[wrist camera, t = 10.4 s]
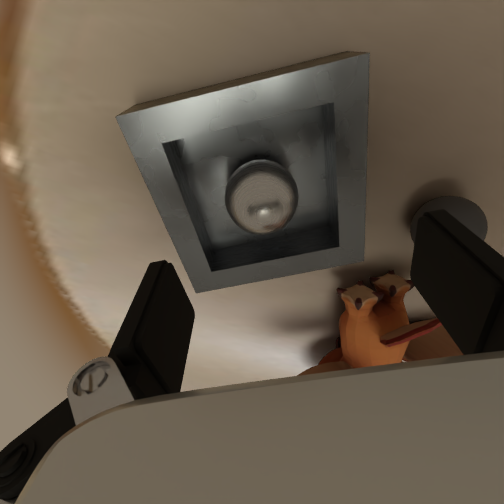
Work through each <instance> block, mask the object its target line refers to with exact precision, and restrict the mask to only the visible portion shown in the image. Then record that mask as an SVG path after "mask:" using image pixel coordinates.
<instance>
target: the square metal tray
mask: <svg viewBox="0 0 504 504" xmlns="http://www.w3.org/2000/svg"><path fill="white" fill-rule="evenodd" d="M369 58H370V53H366V52H349V51H346V52H342V53H338V54H334V55H330V56H326V57H322V58H318V59H314V60H310V61H306V62H302V63H298V64H295V65H291V66H287V67H283V68H279V69H275V70H271V71H267V72H263V73H259V74H255V75H251V76H247V77H243V78H239V79H235V80H231V81H227V82H224V83H220V84H216V85H212V86H208V87H204V88H200V89H196V90H192V91H188V92H184V93H180V94H176V95H172V96H168V97H164V98H160V99H157V100H153V101H149V102H145V103H141V104H137V105H134V106H132V107H131V108H129V109H127V110H126V111H124V112H122V113H121V114H119V115H117V116H116V119H117V121H118V124H119V126H120V128H121V130H122V132H123V135H124V137H125V139H126V141H127V143H128V145H129V148H130V150H131V152H132V154H133V156H134V159H135V161H136V163H137V165H138V167H139V170H140V172H141V174H142V176H143V178H144V180H145V183H146V185H147V187H148V189H149V191H150V194H151V196H152V198H153V200H154V202H155V205H156V207H157V209H158V211H159V213H160V215H161V218H162V220H163V222H164V224H165V226H166V229H167V231H168V233H169V235H170V237H171V239H172V242H173V244H174V246H175V248H176V250H177V253H178V255H179V257H180V259H181V261H182V264H183V266H184V268H185V270H186V272H187V274H188V277H189V279H190V281H191V283H192V285H193V288H194V290H195V292H196V293H200V292H206V291H211V290H216V289H221V288H226V287H232V286H237V285H242V284H247V283H253V282H258V281H263V280H268V279H273V278H279V277H284V276H289V275H294V274H300V273H305V272H310V271H315V270H321V269H326V268H331V267H336V266H341V265H347V264H352V263H357V262H362V261H364V248H365V210H366V172H367V134H368V96H369ZM259 159H264V160H271V161H274V162H277V163H279V164H280V165H282V166H283V167H285V168H286V169H287V170H288V171H289V172H290V173H291V175H292V176H293V178H294V180H295V182H296V184H297V188H298V193H299V200H298V206H297V209H296V212H295V214H294V216H293V218H292V219H291V221H290V222H289V223H288V224H287V225H286V226H285V227H283V228H282V229H280V230H279V231H277V232H274V233H271V234H266V235H257V234H252V233H249V232H246V231H244V230H243V229H241V228H240V227H238V226H237V225H236V224H235V223H234V222H233V220H232V219H231V218H230V216H229V214H228V212H227V209H226V206H225V189H226V185H227V183H228V180H229V179H230V177H231V175H232V174H233V173H234V172H235V171H236V170H237V169H238V168H239V167H240V166H242V165H243V164H245V163H247V162H250V161H253V160H259Z"/></svg>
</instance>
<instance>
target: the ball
mask: <svg viewBox="0 0 504 504" xmlns="http://www.w3.org/2000/svg"><path fill="white" fill-rule="evenodd" d="M439 209H444V210H446V211H447V212H448V213H450V214H451V215H452V216H453V217H455V218H456V219H457V220H458V221H460V222H461V223H462V224H463V225H464V226H466V227H467V228H468V229H469V230H471V231H472V232H473V233H474V234H476V235H477V236H478V237H479V238H480V239H482V240H483V241H484V239H485V237H486V234H487V220H486V217H485V215H484V213H483V211H482V210H481V209H480V208H479V207H478V206H477V205H476V204H475V203H473V202H472V201H470V200H468V199H465V198H461V197H456V196H445V197H440V198H436V199H433V200H431V201H429V202H427V203H426V204H424V205H423V206H422V207H421V208H420V209H419V210H418V211H417V212H416V213H415V215H414V217H413V219H412V222H411V227H410V232H411V237H412V240H413V242H414V244H415V237H416V230H417V223H418V219H419V218H420V217H422V216H423V214H424V213H425V212H428V211H433V210H439Z"/></svg>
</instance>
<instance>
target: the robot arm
mask: <svg viewBox="0 0 504 504" xmlns="http://www.w3.org/2000/svg"><path fill="white" fill-rule="evenodd" d="M410 276H411V280H412V282H413V284H414V285H415V287H416V288H417V290H418V291H419V293H420V294H421V295H422V297H423V298H424V300H425V301H426V302H427V304H428V305H429V307H430V308H431V310H432V311H433V312H434V314H435V315H436V317H437V318H438V319H439V321H440V322H441V324H442V325H443V326H444V328H445V329H446V331H447V332H448V334H449V335H450V336H451V338H452V339H453V341H454V342H455V343H456V345H457V346H458V348H459V349H460V351H461V352H462V353H463V355H459V356H450V357H442V358H434V359H426V360H418V361H410V362H402V363H394V364H386V365H378V366H370V367H362V368H354V369H347V370H339V371H331V372H324V373H316V374H308V375H301V376H293V377H285V378H278V379H270V380H263V381H256V382H248V383H241V384H233V385H226V386H219V387H211V388H204V389H197V390H191V391H184V392H180V390H181V385H182V380H183V374H184V369H185V364H186V359H187V354H188V349H189V344H190V339H191V334H192V329H193V323H194V318H195V313H194V309H193V307H192V304H191V302H190V300H189V298H188V296H187V294H186V292H185V290H184V288H183V285H182V283H181V281H180V279H179V277H178V275H177V273H176V271H175V269H174V266H173V265H172V263H168V262H167V261H166V260H162V261H157V262H152V263H150V264H149V266H148V268H147V271H146V273H145V275H144V277H143V279H142V282H141V284H140V286H139V288H138V290H137V293H136V295H135V297H134V299H133V301H132V304H131V306H130V308H129V310H128V312H127V315H126V317H125V319H124V321H123V323H122V326H121V328H120V330H119V332H118V334H117V337H116V339H115V341H114V343H113V345H112V348H111V350H110V353H109V355H108V357H99V358H96V359H93V360H92V361H89V362H88V363H86V364H85V365H84V366H82V367H81V368H80V369H79V370H78V371H77V372H76V373H75V374H74V375H73V377H72V379H71V380H70V382H69V385H68V388H67V395H68V398H66V399H65V400H64V401H63V402H61V403H60V404H59V405H58V406H57V407H55V408H54V409H52V410H51V411H50V412H49V413H48V414H46V415H45V416H44V417H42V418H41V419H40V420H39V421H37V422H36V423H35V424H33V425H32V426H31V427H30V428H28V429H27V430H26V431H24V432H23V433H22V434H21V435H19V436H18V437H17V438H16V439H14V440H13V441H12V442H10V443H9V444H8V445H7V446H6V447H5V448H4V449H3V450H2V451H1V452H0V504H504V257H503V256H501V255H500V254H499V253H498V252H496V251H495V250H494V249H493V248H491V247H490V246H489V245H488V244H487V243H485V242H484V241H483V240H482V239H480V238H479V237H478V236H477V235H476V234H474V233H473V232H472V231H471V230H469V229H468V228H467V227H466V226H464V225H463V224H462V223H461V222H460V221H458V220H457V219H456V218H455V217H453V216H452V215H451V214H450V213H448V212H447V211H446V210H444V209H439V210H433V211H428V212H425V213H424V214H423V216H422V217H420V218H419V219H418V223H417V230H416V237H415V244H414V251H413V258H412V265H411V272H410Z"/></svg>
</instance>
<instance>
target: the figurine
mask: <svg viewBox="0 0 504 504" xmlns="http://www.w3.org/2000/svg"><path fill="white" fill-rule="evenodd" d="M370 282H371V284H372V285H373V286H374V288H376V290H377V292H374V291H373V290H371V289H370V288H368V287H366V286H364V285H363V281H361V280H360V281H358V282H357V284H356V285H354V286H352V287H350V288H345V289H343V288H337V294H338V295H339V296H340V298H341V299H342V300H343V301H344V302H345V307H346V310H345V311H344V312H343V314H342V315H341V316H340V320H339V331H340V337H341V339H340V338H338V339H337V340H336V349H334V350H332V351H331V352H329V353H328V354H327V355H326V356H325V357H323V359H322V360H321V361H320V363H319V364H318V365H317V366H314V367H311V368H309V369H307V370H306V371H304V372H302V373H300V374H299V375H297V376H301V375H308V374H316V373H324V372H331V371H339V370H347V369H354V368H362V367H370V366H378V365H386V364H394V363H402V360H404V361H406V362H410V361H418V360H426V359H434V358H442V357H450V356H459V355H463V353H462V352H461V351H460V349H459V348H458V346H457V345H456V343H455V342H454V341H453V339H452V338H451V336H450V335H449V334H448V332H447V331H446V329H445V328H444V326H443V325H442V324H441V322H440V321H439V319H438V318H434V319H430V320H425V321H419V322H415V323H412V324H409V320H408V316H407V312H406V309H405V305H404V302H403V298H404V296H405V293H406V292H407V291H409V290H411V289H412V288H413V287H414V286H415V285H414V284H413V282H412V280H406V279H404V278H403V277H400V276H397V275H395V274H394V271H393V270H389V272H388V273H387V274H386V275H384V276H381V277H370Z"/></svg>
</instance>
